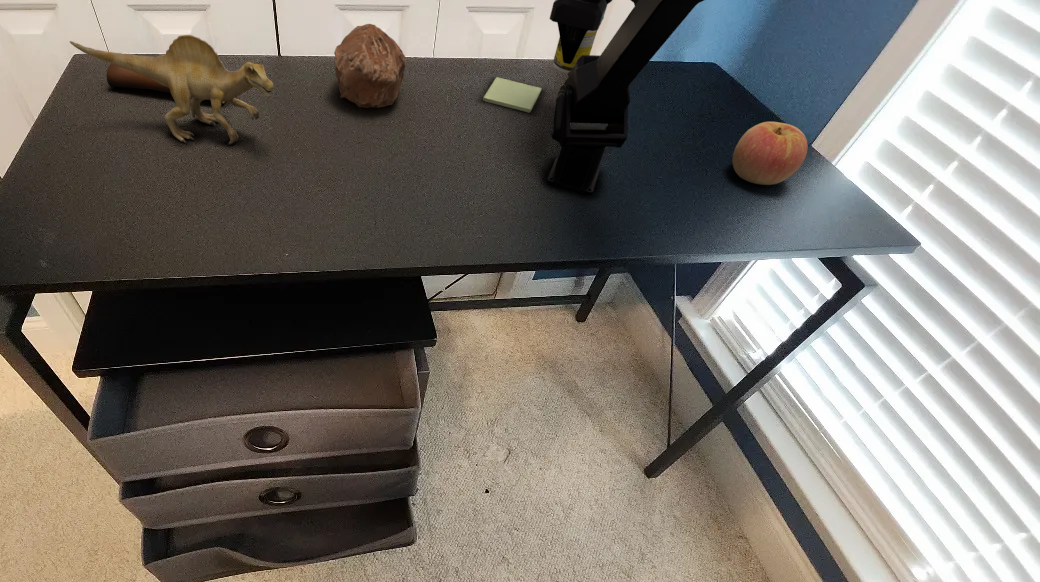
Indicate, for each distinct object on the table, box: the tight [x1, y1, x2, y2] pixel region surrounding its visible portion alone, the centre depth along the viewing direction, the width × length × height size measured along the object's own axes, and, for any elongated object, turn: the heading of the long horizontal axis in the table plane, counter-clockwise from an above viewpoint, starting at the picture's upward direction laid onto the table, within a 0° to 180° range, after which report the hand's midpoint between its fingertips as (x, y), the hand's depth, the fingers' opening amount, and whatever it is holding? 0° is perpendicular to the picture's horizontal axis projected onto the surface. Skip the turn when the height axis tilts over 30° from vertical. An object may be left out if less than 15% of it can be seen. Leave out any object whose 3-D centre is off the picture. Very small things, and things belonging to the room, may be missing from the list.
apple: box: [732, 121, 809, 186], centre depth 86 cm, size 9×9×8 cm
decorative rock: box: [333, 23, 407, 109], centre depth 92 cm, size 13×11×10 cm
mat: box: [482, 76, 543, 114], centre depth 99 cm, size 8×8×1 cm
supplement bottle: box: [552, 30, 598, 75], centre depth 83 cm, size 5×5×8 cm
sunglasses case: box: [105, 63, 226, 105], centre depth 92 cm, size 18×7×7 cm, turn 81°
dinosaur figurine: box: [69, 34, 275, 145], centre depth 82 cm, size 8×26×13 cm, turn 81°
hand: (570, 55), depth 85 cm, fingers closed on supplement bottle, 5 cm apart
